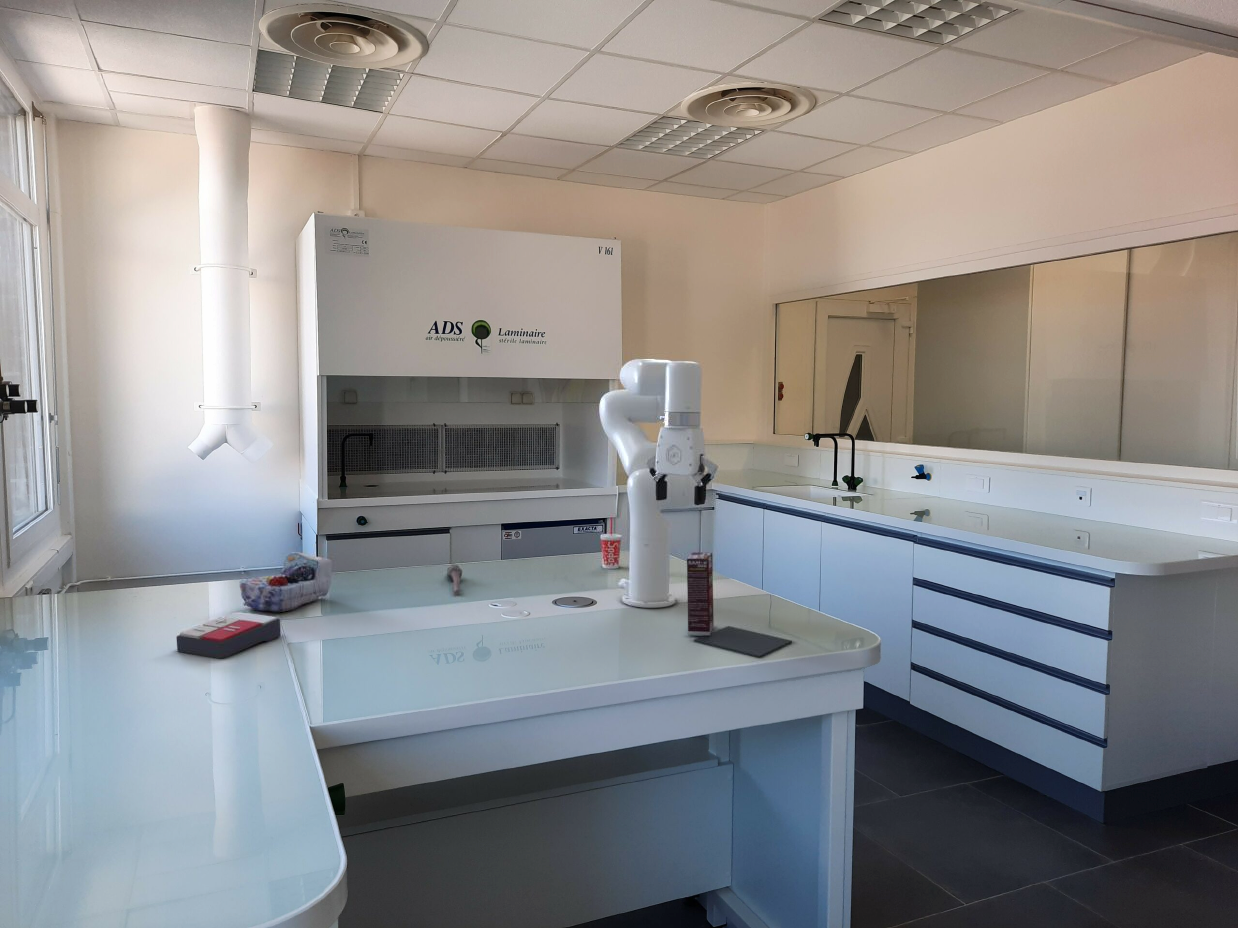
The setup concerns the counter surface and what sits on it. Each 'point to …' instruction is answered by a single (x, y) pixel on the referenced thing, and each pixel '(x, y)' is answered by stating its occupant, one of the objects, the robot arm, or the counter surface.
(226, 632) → the calculator
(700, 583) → the supplement box
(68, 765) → the counter surface
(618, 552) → the beverage cup
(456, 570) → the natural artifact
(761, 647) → the mat
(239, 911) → the counter surface
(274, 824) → the counter surface
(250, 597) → the toy bassinet
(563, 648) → the counter surface
